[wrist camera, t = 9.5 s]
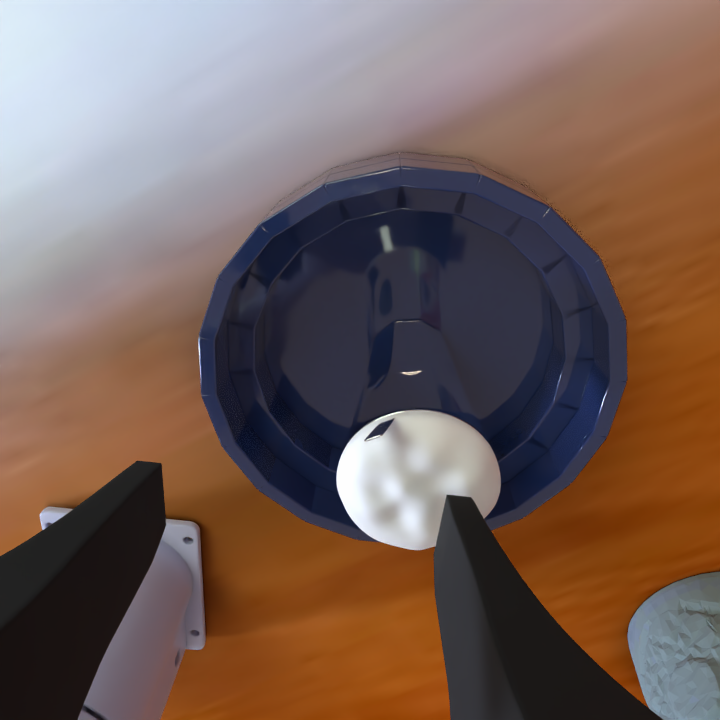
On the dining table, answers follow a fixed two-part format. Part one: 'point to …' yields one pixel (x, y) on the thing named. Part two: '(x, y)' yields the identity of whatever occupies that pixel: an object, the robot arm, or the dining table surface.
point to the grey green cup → (680, 649)
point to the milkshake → (413, 441)
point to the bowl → (407, 303)
